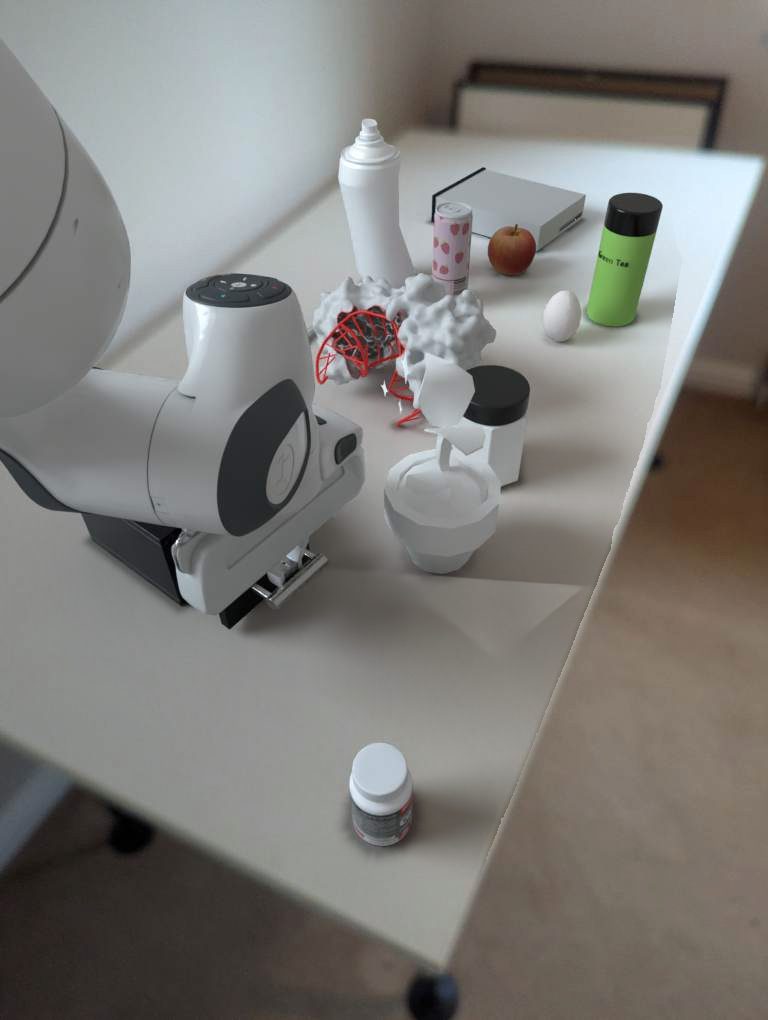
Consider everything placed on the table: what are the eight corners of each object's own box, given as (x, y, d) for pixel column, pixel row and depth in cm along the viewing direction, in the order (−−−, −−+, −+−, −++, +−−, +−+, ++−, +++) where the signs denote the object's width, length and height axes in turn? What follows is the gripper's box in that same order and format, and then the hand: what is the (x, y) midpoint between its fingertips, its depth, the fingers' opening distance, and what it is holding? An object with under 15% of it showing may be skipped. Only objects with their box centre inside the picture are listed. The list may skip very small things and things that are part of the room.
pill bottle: (412, 847, 57) (414, 800, 51) (351, 847, 57) (346, 800, 51) (411, 788, 60) (413, 737, 54) (353, 787, 60) (349, 737, 54)
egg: (574, 330, 110) (584, 283, 105) (578, 349, 106) (587, 301, 101) (538, 329, 111) (546, 281, 105) (540, 348, 107) (548, 300, 102)
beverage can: (437, 291, 119) (441, 198, 109) (470, 297, 118) (478, 203, 107) (425, 308, 115) (428, 213, 105) (460, 314, 114) (467, 219, 103)
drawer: (346, 580, 75) (342, 527, 69) (265, 656, 68) (254, 604, 63) (222, 503, 83) (209, 450, 77) (140, 564, 77) (119, 511, 71)
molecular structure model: (348, 478, 98) (514, 415, 84) (258, 377, 89) (428, 286, 75) (381, 389, 111) (529, 321, 98) (306, 292, 102) (457, 202, 88)
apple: (517, 256, 128) (522, 211, 122) (542, 276, 122) (549, 229, 117) (476, 266, 125) (480, 219, 120) (500, 286, 120) (505, 239, 115)
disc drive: (480, 192, 148) (482, 166, 145) (582, 219, 138) (587, 192, 135) (430, 221, 138) (431, 195, 135) (536, 253, 128) (540, 225, 125)
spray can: (369, 309, 115) (364, 140, 98) (335, 282, 122) (324, 119, 104) (429, 289, 120) (434, 123, 102) (393, 264, 126) (392, 104, 109)
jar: (450, 442, 92) (455, 360, 83) (515, 445, 91) (527, 363, 83) (449, 491, 85) (455, 408, 77) (520, 494, 85) (533, 410, 76)
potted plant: (380, 517, 82) (375, 319, 65) (483, 511, 83) (506, 312, 65) (389, 607, 73) (386, 404, 56) (504, 599, 74) (537, 396, 56)
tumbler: (639, 327, 111) (671, 213, 98) (590, 328, 111) (615, 213, 98) (627, 303, 116) (656, 191, 104) (580, 303, 116) (603, 191, 104)
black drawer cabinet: (271, 533, 81) (259, 467, 74) (181, 606, 74) (159, 540, 67) (182, 478, 88) (164, 412, 81) (92, 540, 80) (64, 474, 74)
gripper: (197, 559, 52) (228, 667, 62) (375, 419, 64) (378, 529, 73) (140, 520, 55) (179, 630, 65) (321, 393, 67) (330, 502, 76)
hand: (286, 575), depth 69 cm, fingers closed, pressing on drawer
